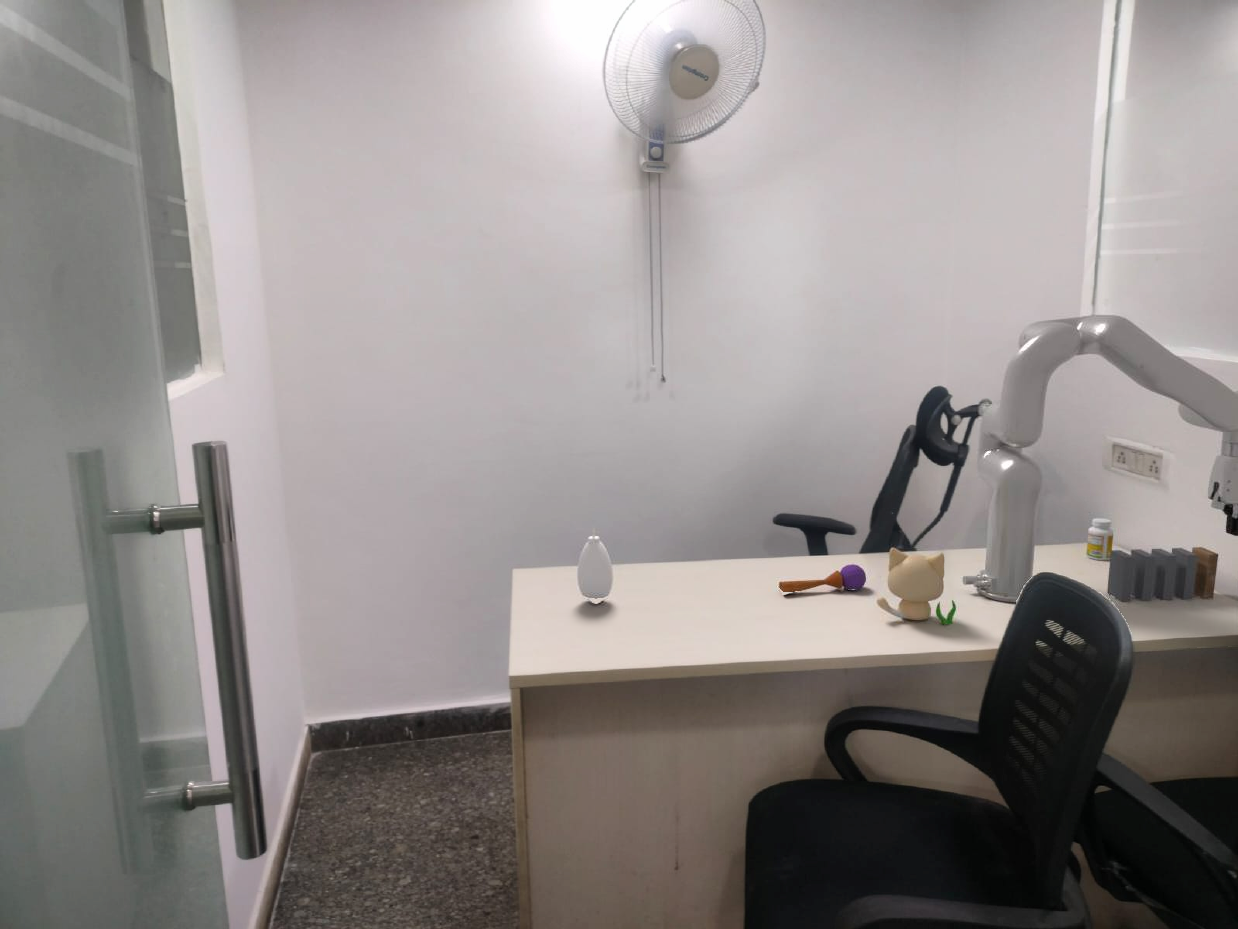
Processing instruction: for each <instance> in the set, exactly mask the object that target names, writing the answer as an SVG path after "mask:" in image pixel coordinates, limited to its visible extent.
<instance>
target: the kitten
mask: <svg viewBox="0 0 1238 929" xmlns="http://www.w3.org/2000/svg"><path fill="white" fill-rule="evenodd" d="M888 557H889V559H888V560H889V561H888V575H887V587H888V590H889V592H890V593H891V594H893V595H894V596H895V597H897V598H899V599H901V600H899V601H900V602H899V604H898V606H897V607H898V608H897V609H896V608H893V607H891V605H889V603H888V601H887V599H886V598H885V597H882V596H880V597H877V599H876V603H877V605H878V606H879V608H880V609H882V610H883V611H885V612H887V613H888V614H890V615H892V616H895V617H897V618H901V619H907V620H911V621H923V620H924V621H925V620H927V619H929V618H930V617H931V615H932V608H931V607H932V606H931V604H930V603H929V602H931V601H935V600H937V599H939V598H940V597H941V596H942V595H943V593H944V588H945V585H944V582H945V581H944V577H945V554H944V553H943V552H938V553H936V554H933V555H930V556H926V555H923V554H917V553H910V554H905V553H904V552H902V551H901V550H898V549H897V548H895V547H891V548H890V550H889V553H888ZM940 604H941V601H939V602H938V603H937V606H936V609H935V615H936V617H937V619H939V620H940V624H941V625H944V626H947V625H952V624H953V619H954V615H955V614H956V611H957V610H956V609H957V605H956V603H955V601H954V600H953V599H951V604H952V607H951V609H950V610H949V612H948V613H947V616H946V617H945V616H944V615H943V613H942V610H941V605H940Z"/></svg>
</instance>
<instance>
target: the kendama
mask: <svg viewBox="0 0 1238 929" xmlns="http://www.w3.org/2000/svg"><path fill="white" fill-rule="evenodd" d="M866 581H867V576H866V572H865V571H864V569H863V568H862V567H861V566H859V565H857V564H854V563H853V564H846V565H844V566H843V567H842V568H841V570H836V571H834V572H833V573H831V574H830V575H829V576H827V577H826V578H824V579H811V580H810V579H809V580H790V581H779V583H778V588H780V589H781V590H782V591H783V592H795V591H800V592H802V590H803V591H806V590H809V589H815V588H817V587H820V586H829V587H833V588H837V589H839V588H841V589H843V588H844V587H845V588H844V589H846V588H847V589H859V590H860V589H861V588H863V587H864V586H865V584H866V583H867V582H866ZM847 589H846V590H847Z"/></svg>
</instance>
